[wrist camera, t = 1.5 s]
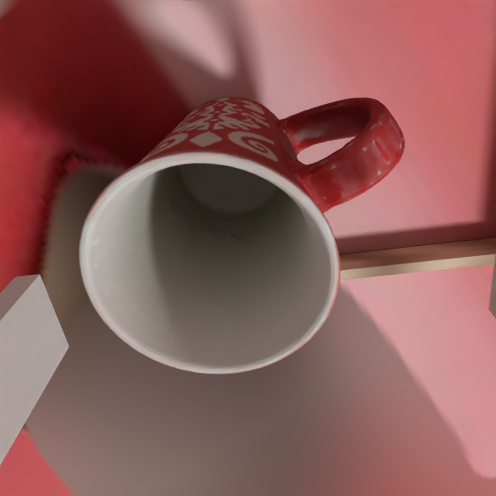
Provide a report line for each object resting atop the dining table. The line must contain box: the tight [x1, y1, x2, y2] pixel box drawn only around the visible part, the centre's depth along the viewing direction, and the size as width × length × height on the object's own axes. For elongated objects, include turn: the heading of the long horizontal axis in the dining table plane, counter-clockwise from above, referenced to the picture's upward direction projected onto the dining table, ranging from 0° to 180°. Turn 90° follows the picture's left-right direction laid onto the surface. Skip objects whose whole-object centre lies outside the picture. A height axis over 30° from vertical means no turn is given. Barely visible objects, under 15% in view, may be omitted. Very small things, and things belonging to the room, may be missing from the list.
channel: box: [339, 238, 496, 280], centre depth 25 cm, size 21×17×4 cm
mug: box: [79, 97, 405, 374], centre depth 21 cm, size 13×9×14 cm
